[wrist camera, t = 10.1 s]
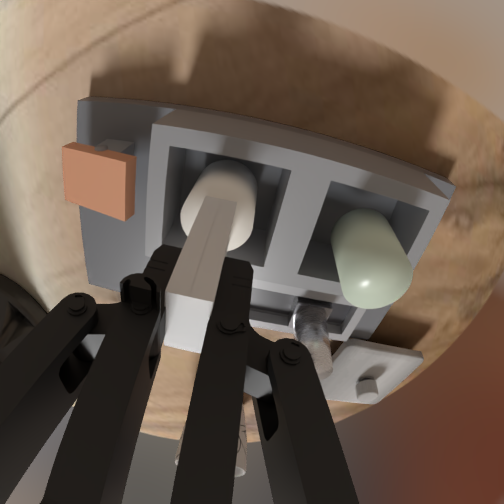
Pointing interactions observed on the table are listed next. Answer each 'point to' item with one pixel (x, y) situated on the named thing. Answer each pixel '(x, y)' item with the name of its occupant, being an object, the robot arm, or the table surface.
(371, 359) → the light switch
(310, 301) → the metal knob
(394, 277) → the sage button
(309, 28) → the table surface
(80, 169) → the block
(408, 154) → the table surface
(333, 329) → the panel
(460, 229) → the table surface
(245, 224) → the white button
